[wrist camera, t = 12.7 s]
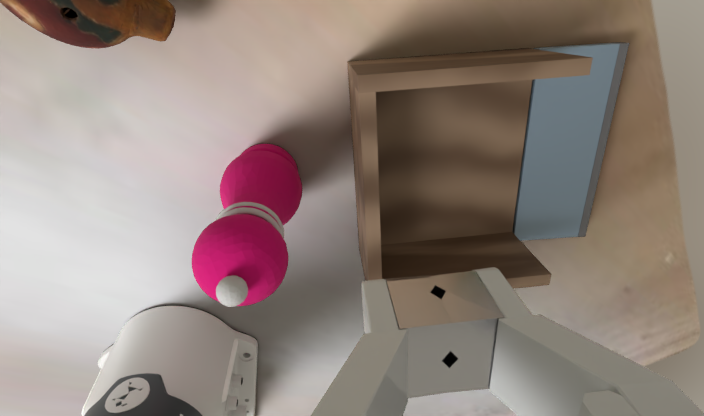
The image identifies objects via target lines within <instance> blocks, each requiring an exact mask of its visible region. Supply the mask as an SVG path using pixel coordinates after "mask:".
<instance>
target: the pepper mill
mask: <svg viewBox="0 0 704 416" xmlns="http://www.w3.org/2000/svg"><path fill="white" fill-rule="evenodd" d="M220 196H221V201H222V205H223V207H224V210H223V211H222V212H221V213H220V214H219V215H218V217H217V218H216V221H214V222H213V223H211V224H210V225H209V226H208V227H206V228H205V229H204V230H203V231H202V233H201V235H200V236H199V238H198V239H197V241H196V244H195V246H194V250H193V254H192V269H193V273H194V277H195V279H196V281H197V283H198V284H199V286H200V287H201V289H202V290H203V291H204V292H205V293H206V294H207V295H208V296H209V297H211V298H212V299H214V300H216V301H218V302H220V303H221V304H223V305H225V306H228V307H234V306H246V305H251V304H255V303H257V302H260V301H262V300H264V299H265V298H267V297H268V296H270V295H271V294H272V293H274V292H275V290H276V289H277V288H278V287H279V285H280V284H281V283H282V281H283V279H284V276H285V273H286V270H287V267H288V252H287V247H286V243H285V241H284V228H283V225H284V224H286V223H287V222H288V221H289V220H290V219H291V218H292V217H293V215H294V214H295V212H296V211H297V209H298V207H299V204H300V200H301V197H302V183H301V180H300V177H299V174H298V168H297V165H296V163H295V161H294V159H293V157H292V156H291V155H290V154H289V153H288V152H287V151H286V150H284V149H283V148H281V147H279V146H276V145H273V144H257V145H254V146H251V147H250V148H248V149H246V150H245V151H244V152H243V153H242V154H241V155H240V156H239V157H237V158H236V159H235V160H233V161H232V162H231V163H230V164H229V165H228V167H227V168H226V170H225V172H224V175H223V177H222V180H221V184H220Z"/></svg>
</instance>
